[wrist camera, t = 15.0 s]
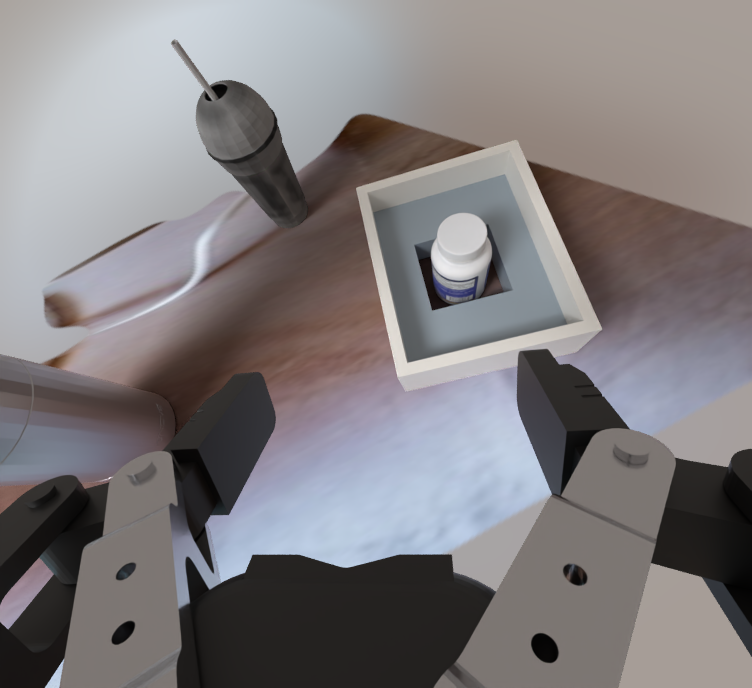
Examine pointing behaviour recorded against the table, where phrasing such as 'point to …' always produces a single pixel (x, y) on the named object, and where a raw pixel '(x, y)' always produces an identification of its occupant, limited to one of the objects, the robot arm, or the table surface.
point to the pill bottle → (461, 258)
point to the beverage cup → (248, 145)
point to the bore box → (510, 258)
